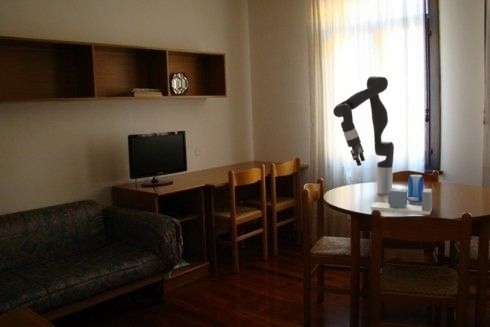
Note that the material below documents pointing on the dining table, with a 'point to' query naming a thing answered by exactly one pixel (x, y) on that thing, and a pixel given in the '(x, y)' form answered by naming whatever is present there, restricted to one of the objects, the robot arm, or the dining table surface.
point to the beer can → (415, 188)
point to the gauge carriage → (399, 198)
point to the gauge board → (422, 209)
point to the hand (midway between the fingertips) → (361, 163)
